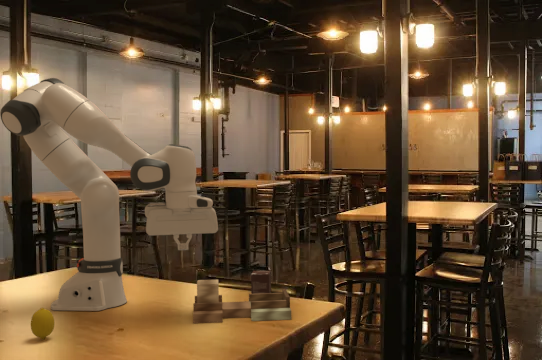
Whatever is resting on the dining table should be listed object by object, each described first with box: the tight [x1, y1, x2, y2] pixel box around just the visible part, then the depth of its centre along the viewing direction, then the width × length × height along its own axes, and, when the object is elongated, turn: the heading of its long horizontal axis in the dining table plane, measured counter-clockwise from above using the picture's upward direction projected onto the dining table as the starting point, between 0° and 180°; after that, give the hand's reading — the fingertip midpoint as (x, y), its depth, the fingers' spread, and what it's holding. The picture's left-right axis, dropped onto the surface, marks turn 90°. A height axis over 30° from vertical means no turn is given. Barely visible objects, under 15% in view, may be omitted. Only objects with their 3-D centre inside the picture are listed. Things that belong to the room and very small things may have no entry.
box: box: [250, 270, 272, 294], centre depth 188 cm, size 6×6×7 cm
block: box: [196, 279, 220, 303], centre depth 164 cm, size 6×6×7 cm
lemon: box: [30, 307, 55, 340], centre depth 143 cm, size 6×6×8 cm
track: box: [192, 288, 292, 324], centre depth 165 cm, size 27×16×6 cm, turn 95°
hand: (183, 249), depth 163 cm, fingers closed
